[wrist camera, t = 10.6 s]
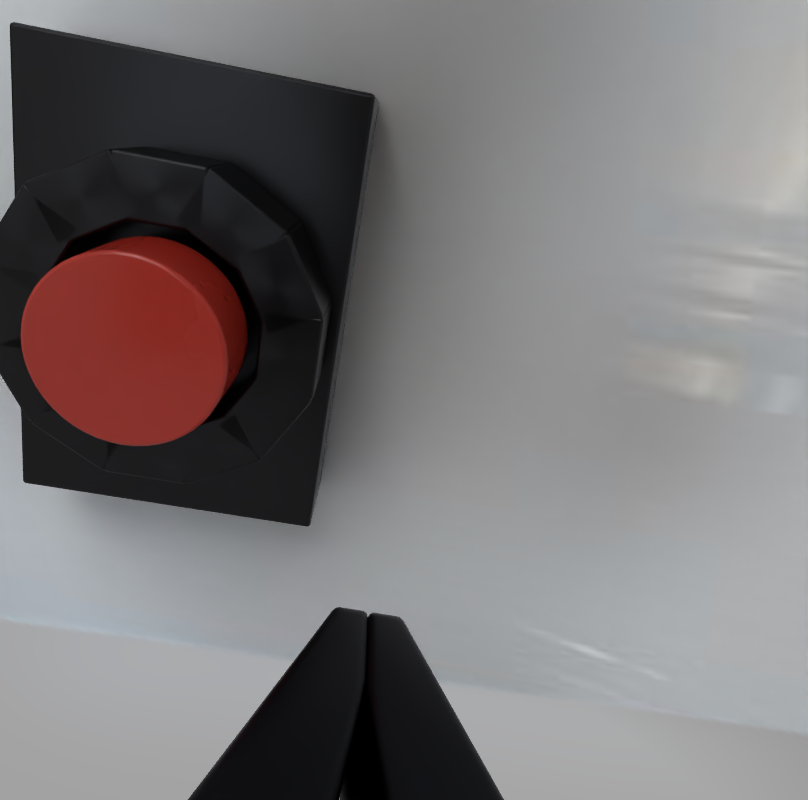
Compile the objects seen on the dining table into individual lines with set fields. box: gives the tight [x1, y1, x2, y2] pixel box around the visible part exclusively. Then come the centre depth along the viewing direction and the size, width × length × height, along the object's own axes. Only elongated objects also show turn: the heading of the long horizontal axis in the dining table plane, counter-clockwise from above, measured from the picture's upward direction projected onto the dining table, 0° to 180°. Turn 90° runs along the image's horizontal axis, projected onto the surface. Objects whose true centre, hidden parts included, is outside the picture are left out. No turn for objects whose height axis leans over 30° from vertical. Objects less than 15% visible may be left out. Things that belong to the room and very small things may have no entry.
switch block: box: [0, 22, 379, 526], centre depth 15 cm, size 10×7×4 cm
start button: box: [21, 236, 248, 446], centre depth 13 cm, size 4×4×2 cm
